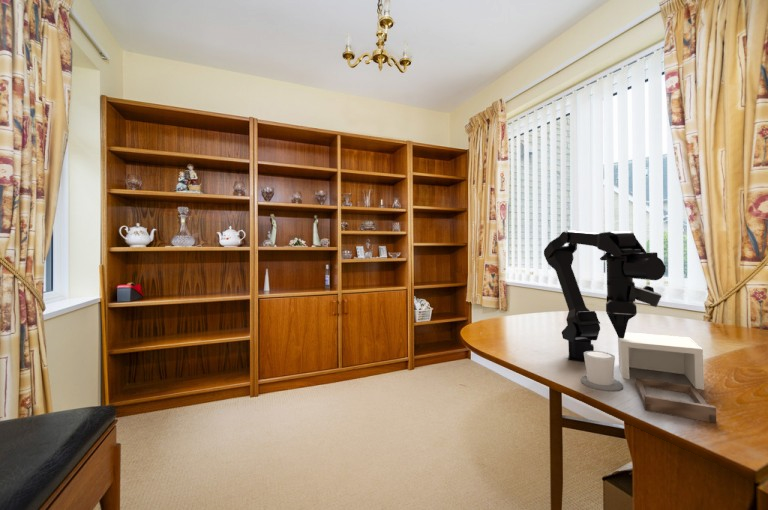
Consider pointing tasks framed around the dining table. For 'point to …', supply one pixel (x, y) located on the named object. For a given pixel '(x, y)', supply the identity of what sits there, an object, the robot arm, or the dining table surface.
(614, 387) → the coaster
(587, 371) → the white tapered cup
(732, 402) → the dining table surface
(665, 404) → the tray
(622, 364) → the cubby
